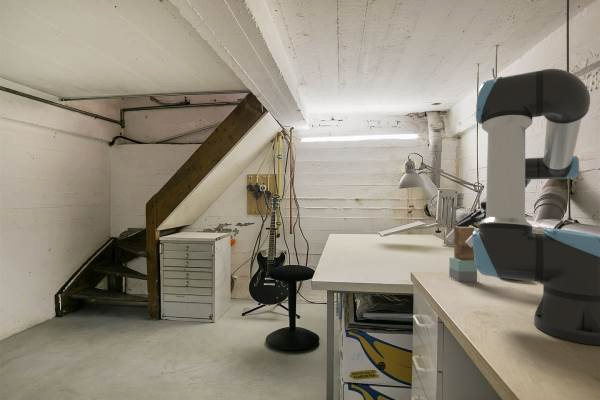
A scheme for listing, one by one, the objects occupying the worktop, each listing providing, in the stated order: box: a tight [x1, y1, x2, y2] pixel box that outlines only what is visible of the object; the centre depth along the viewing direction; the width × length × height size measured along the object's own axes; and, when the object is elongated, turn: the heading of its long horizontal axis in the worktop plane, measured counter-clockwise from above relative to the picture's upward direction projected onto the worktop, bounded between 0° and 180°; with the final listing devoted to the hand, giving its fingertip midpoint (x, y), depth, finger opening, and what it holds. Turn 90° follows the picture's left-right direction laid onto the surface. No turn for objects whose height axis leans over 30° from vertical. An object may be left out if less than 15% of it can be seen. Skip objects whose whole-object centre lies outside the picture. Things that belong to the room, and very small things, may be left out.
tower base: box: [448, 266, 478, 283], centre depth 124 cm, size 7×7×4 cm
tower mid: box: [449, 256, 478, 272], centre depth 124 cm, size 7×7×4 cm
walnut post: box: [453, 226, 475, 260], centre depth 124 cm, size 5×5×12 cm
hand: (457, 242), depth 124 cm, fingers open, 13 cm apart
